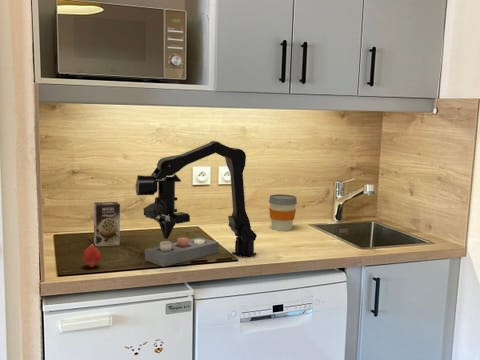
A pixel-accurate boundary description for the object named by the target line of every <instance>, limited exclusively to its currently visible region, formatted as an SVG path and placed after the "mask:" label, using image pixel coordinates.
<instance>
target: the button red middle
mask: <svg viewBox="0 0 480 360" xmlns="http://www.w3.org/2000/svg"><path fill="white" fill-rule="evenodd" d="M189 240H190V239H189V238H188V237H178V238H177V240H176V241H177V247H180V248H185V247H188V246H189Z"/></svg>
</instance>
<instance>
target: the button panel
mask: <svg viewBox="0 0 480 360" xmlns="http://www.w3.org/2000/svg"><path fill="white" fill-rule="evenodd" d="M196 239H202V240H205V243H202V244H196V243H194V240H196ZM215 254H219V241H214V240H212V239H211V240H210V239H207V238H204V237H195V238H194V237H193V238H191V239H189V246H188V247H185V248H180V247H177V242H171V251H167V252H163V251H160V245H157V246H154V247H149V248H145V250H144V261H146V262H150V263H152V264H155V265H158V266H160V267H162V268H163V267H164V268H165V267H169V266H171V265H172V266H173V265H175V264H179V263H184V262H187V261H192V260H195V259H199V257H200V258H202V257H203V256H204V257H207V255H208V256H212V255H215Z"/></svg>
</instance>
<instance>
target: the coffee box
mask: <svg viewBox="0 0 480 360" xmlns="http://www.w3.org/2000/svg"><path fill="white" fill-rule="evenodd" d="M120 223H121V204H120V203H119V202H118V201H103V202H102V201H101V202H94V203H93V245H94V247H107V246H108V247H110V246H120V245H121V244H120V243H121V242H120V239H121V235H120V234H121V233H120V232H121V231H120V229H121V224H120Z"/></svg>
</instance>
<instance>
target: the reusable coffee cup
mask: <svg viewBox="0 0 480 360" xmlns="http://www.w3.org/2000/svg"><path fill="white" fill-rule="evenodd" d="M297 199H298V198H297V196H295V195H292V194H275V193H274V194H271V195H270V196H269V199H268V200H269V201H268V202H269V218H270V223H271V229H272V230H273V231H277V232H290V231H292V230H293V229H292V227H293V221H294V220H295V217H296V211H297V209H296V206H297Z"/></svg>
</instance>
